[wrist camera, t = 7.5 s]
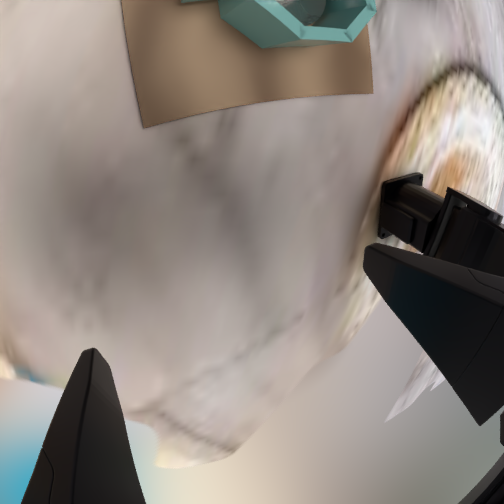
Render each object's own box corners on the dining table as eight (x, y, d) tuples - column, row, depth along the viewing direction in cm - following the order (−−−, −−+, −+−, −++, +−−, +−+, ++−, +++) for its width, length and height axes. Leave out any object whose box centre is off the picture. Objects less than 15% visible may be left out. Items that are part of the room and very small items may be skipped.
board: (348, -48, 13) (353, -49, 12) (368, 92, 21) (373, 93, 20) (116, -54, 8) (116, -58, 8) (143, 127, 16) (144, 128, 16)
